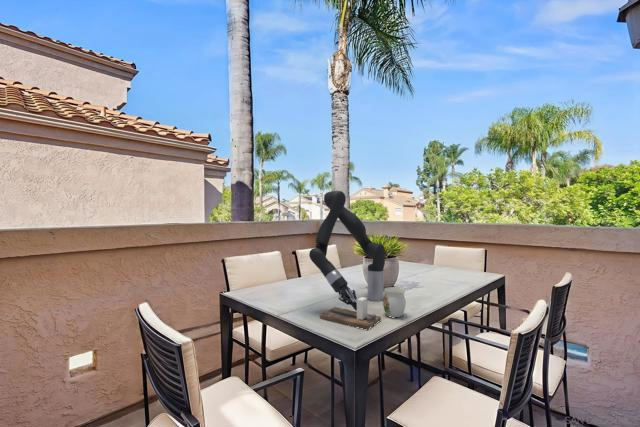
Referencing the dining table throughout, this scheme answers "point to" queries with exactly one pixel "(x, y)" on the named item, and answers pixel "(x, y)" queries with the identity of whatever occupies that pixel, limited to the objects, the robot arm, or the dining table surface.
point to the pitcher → (394, 301)
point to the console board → (349, 318)
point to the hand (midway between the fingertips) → (358, 309)
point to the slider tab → (361, 308)
